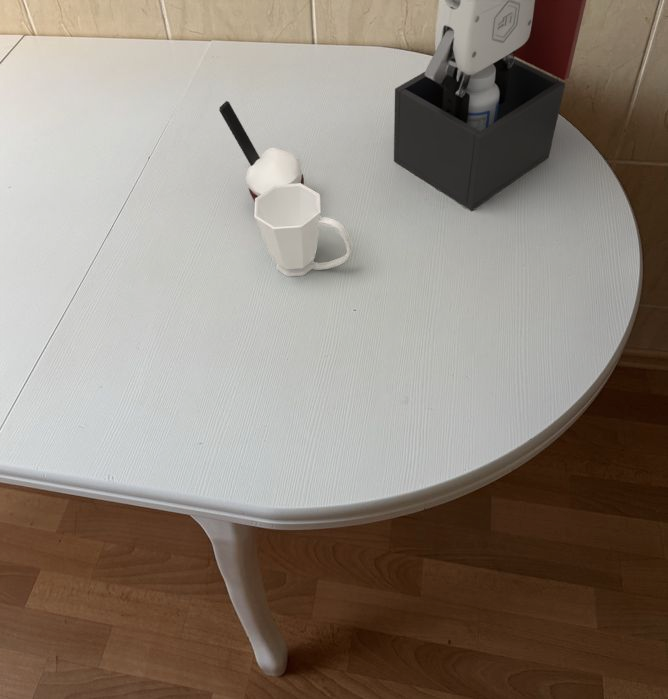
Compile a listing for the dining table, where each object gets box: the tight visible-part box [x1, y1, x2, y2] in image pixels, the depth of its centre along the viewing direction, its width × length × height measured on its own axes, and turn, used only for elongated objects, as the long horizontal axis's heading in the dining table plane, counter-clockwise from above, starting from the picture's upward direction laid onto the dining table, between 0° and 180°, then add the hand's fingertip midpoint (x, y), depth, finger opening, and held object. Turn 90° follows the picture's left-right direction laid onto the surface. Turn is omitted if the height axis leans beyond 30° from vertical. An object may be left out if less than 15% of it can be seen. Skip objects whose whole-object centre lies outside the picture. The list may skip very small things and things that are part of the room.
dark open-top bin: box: [393, 58, 566, 212], centre depth 81 cm, size 14×13×10 cm
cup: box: [253, 183, 353, 278], centre depth 72 cm, size 7×10×8 cm
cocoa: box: [218, 100, 305, 202], centre depth 77 cm, size 10×6×12 cm, turn 38°
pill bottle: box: [457, 64, 500, 132], centre depth 78 cm, size 6×5×10 cm
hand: (473, 109), depth 78 cm, fingers closed on pill bottle, 5 cm apart
